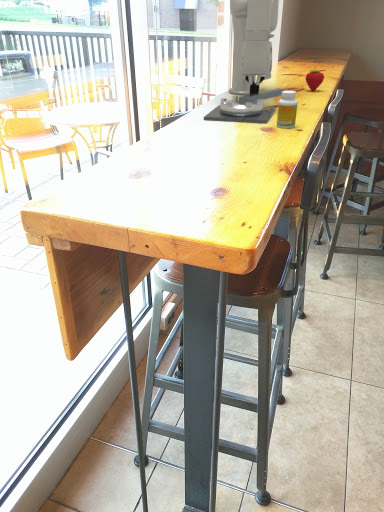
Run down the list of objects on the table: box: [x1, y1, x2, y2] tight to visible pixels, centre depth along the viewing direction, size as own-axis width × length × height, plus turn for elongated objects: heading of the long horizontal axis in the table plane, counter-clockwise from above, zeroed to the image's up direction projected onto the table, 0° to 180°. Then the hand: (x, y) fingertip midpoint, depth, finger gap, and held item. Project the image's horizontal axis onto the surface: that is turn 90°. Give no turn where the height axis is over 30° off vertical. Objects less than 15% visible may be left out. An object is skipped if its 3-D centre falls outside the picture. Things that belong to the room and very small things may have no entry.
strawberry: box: [305, 67, 325, 92], centre depth 170 cm, size 6×8×10 cm
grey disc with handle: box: [219, 87, 285, 116], centre depth 138 cm, size 29×14×4 cm, turn 135°
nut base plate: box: [203, 104, 277, 124], centre depth 135 cm, size 20×20×1 cm
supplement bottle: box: [276, 90, 299, 129], centre depth 119 cm, size 5×5×10 cm
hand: (254, 96), depth 142 cm, fingers closed
